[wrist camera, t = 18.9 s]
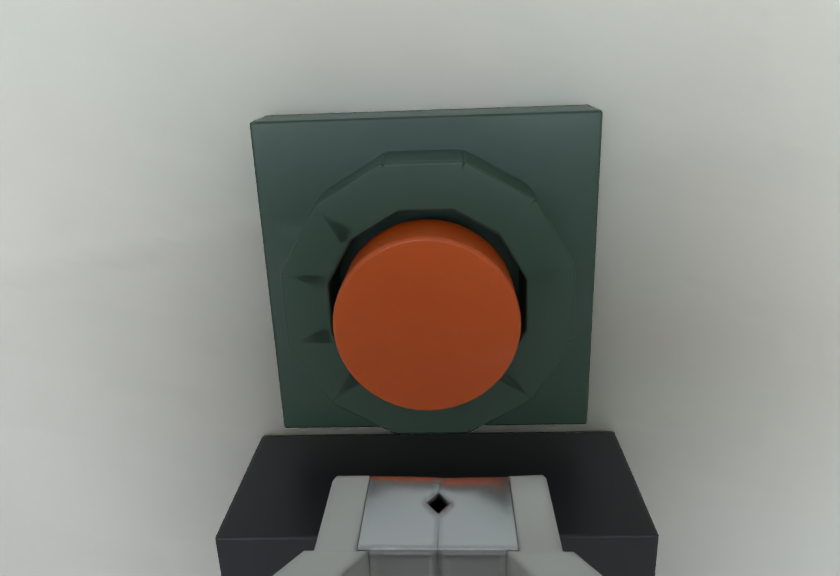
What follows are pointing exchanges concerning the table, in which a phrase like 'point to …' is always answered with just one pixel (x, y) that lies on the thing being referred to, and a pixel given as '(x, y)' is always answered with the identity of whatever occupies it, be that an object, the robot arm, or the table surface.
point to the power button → (427, 315)
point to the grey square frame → (446, 458)
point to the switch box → (443, 200)
